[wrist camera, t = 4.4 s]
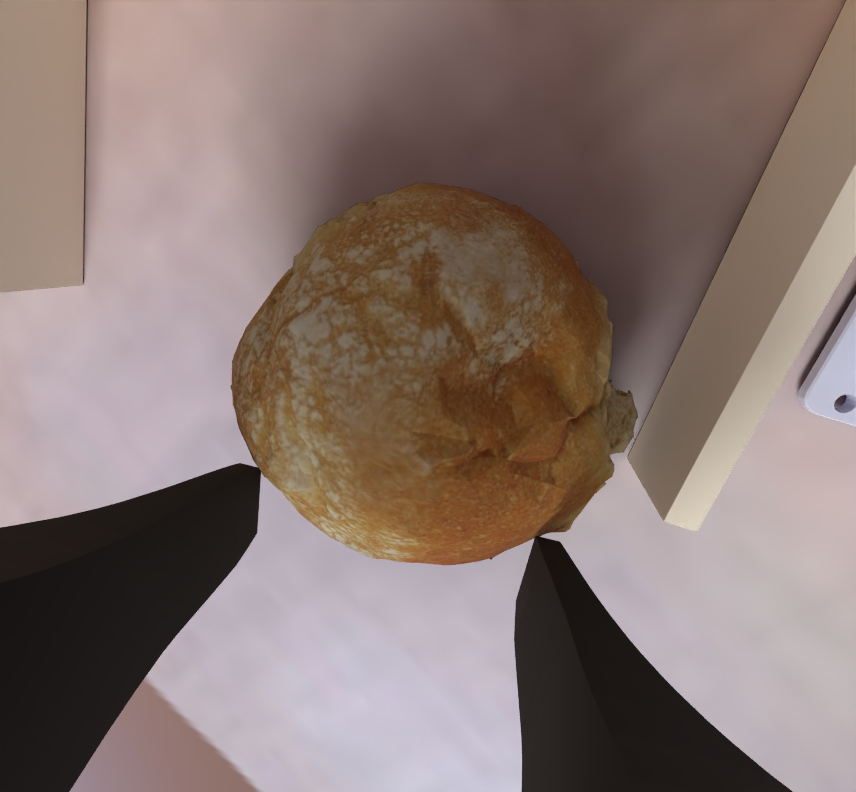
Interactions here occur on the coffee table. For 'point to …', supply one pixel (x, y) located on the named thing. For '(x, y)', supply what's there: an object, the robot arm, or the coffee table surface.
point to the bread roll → (433, 379)
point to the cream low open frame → (706, 338)
